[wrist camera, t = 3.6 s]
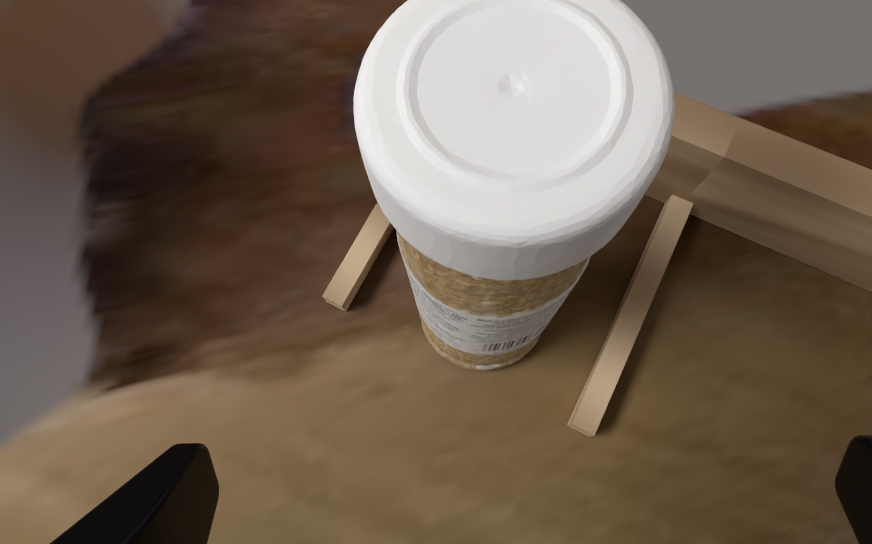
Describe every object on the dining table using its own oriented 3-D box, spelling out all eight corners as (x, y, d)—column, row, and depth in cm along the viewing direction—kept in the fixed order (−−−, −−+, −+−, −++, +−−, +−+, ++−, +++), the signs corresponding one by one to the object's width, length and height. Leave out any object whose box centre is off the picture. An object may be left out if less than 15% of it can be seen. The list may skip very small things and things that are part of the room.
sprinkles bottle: (528, 239, 21) (630, -77, 9) (559, 360, 20) (736, 202, 7) (406, 263, 21) (326, -20, 8) (429, 386, 20) (374, 272, 7)
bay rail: (1227, 796, 16) (1470, 906, 12) (313, 320, 21) (280, 291, 17) (1272, 418, 19) (1482, 411, 15) (455, 77, 24) (454, 5, 20)
